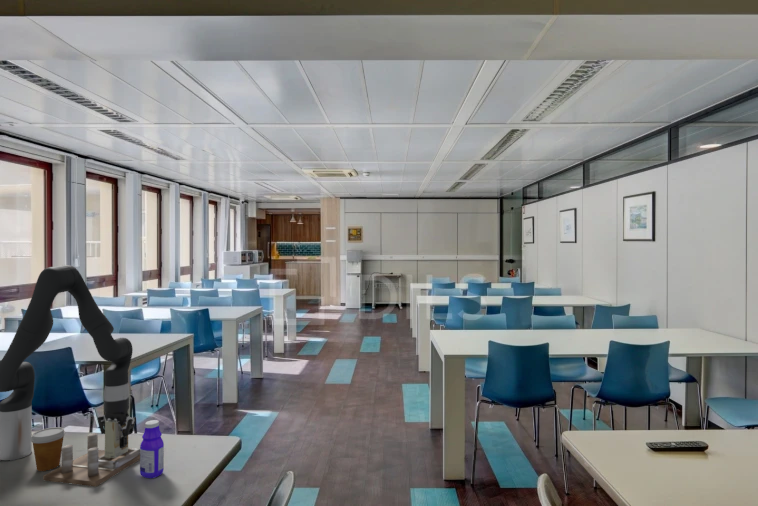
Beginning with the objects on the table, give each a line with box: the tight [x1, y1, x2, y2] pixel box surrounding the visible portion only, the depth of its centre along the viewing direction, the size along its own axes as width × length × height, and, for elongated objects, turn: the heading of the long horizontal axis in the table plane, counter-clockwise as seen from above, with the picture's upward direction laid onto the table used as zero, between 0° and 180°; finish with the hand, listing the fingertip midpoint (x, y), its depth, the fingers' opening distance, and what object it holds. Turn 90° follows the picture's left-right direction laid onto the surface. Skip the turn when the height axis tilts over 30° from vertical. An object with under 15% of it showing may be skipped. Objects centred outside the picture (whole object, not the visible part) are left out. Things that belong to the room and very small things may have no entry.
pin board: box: [42, 432, 140, 487], centre depth 151 cm, size 20×20×10 cm
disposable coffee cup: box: [31, 426, 66, 472], centre depth 153 cm, size 10×10×12 cm
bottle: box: [139, 419, 165, 479], centre depth 147 cm, size 7×6×17 cm
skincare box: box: [104, 420, 129, 458], centre depth 154 cm, size 6×4×12 cm
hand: (116, 446), depth 154 cm, fingers closed on skincare box, 4 cm apart
